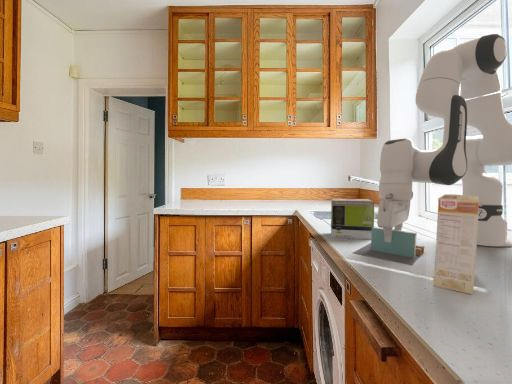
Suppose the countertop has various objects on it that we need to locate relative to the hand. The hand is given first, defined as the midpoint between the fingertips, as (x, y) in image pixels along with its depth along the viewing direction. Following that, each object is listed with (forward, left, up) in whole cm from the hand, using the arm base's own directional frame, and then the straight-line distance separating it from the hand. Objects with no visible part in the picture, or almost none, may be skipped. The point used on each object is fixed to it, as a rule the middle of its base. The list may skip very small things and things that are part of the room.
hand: (392, 239), depth 82 cm
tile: (0, 0, -4) cm, 4 cm away
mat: (0, -1, -5) cm, 5 cm away
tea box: (-15, -19, -5) cm, 25 cm away
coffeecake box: (+12, +16, -5) cm, 21 cm away
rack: (-5, 0, -4) cm, 7 cm away
